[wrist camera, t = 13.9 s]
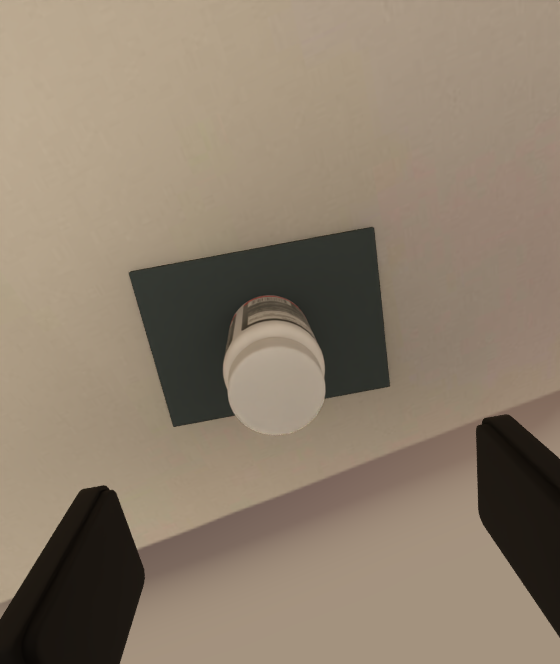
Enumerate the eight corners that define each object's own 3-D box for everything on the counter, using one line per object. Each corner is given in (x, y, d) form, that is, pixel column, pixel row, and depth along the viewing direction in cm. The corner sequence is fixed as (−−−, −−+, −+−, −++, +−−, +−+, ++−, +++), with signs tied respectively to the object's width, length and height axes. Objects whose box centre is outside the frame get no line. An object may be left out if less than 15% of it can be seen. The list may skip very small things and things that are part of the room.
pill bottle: (271, 383, 26) (280, 466, 18) (213, 335, 24) (193, 400, 16) (325, 329, 25) (359, 389, 17) (266, 276, 24) (273, 315, 16)
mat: (372, 226, 23) (374, 227, 23) (388, 384, 27) (390, 386, 26) (130, 271, 23) (128, 272, 23) (174, 423, 26) (173, 427, 26)
